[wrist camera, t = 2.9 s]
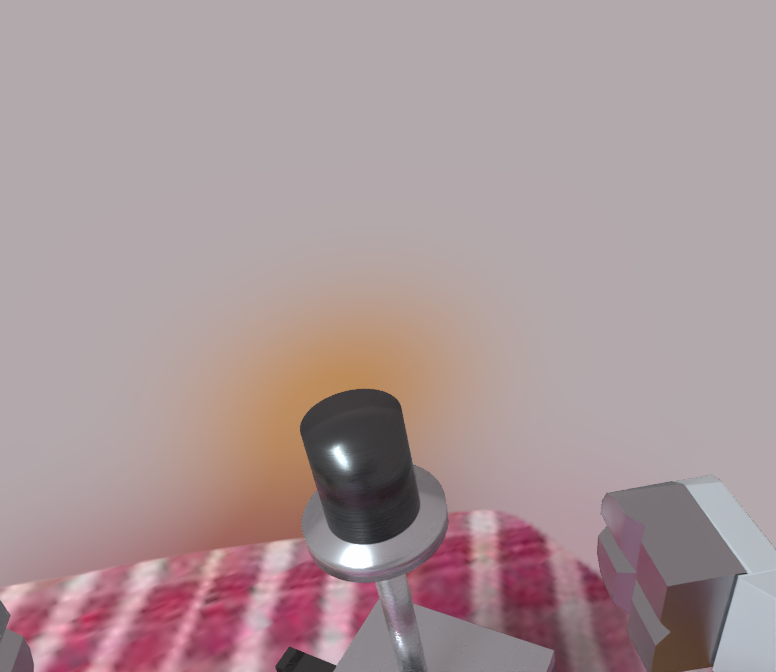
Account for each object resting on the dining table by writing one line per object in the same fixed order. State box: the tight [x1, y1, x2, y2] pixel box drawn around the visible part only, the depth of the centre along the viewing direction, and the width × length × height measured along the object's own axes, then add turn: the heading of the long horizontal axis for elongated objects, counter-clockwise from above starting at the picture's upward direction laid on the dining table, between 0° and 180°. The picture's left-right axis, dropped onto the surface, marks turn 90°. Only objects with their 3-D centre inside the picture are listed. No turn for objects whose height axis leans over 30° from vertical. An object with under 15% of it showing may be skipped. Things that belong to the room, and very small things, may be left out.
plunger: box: [300, 389, 449, 672], centre depth 26 cm, size 5×5×15 cm
